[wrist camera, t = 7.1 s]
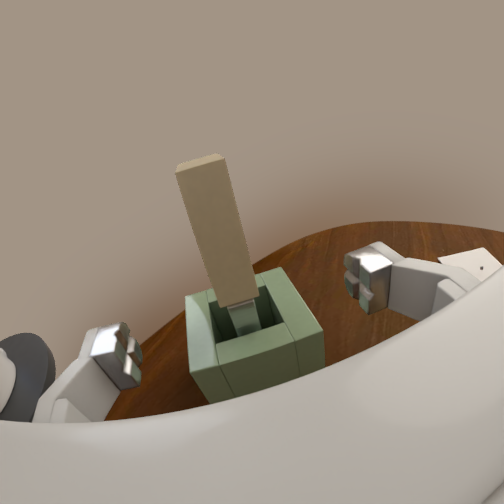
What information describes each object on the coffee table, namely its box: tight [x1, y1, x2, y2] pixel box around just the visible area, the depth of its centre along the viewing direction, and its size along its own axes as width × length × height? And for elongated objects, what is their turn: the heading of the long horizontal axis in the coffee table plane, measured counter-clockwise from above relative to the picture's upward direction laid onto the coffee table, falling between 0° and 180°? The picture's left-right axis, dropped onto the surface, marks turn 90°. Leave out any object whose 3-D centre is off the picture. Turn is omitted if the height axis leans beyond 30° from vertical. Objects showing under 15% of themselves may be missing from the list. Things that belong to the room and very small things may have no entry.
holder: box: [185, 267, 325, 404], centre depth 20 cm, size 8×8×6 cm
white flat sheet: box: [438, 248, 502, 282], centre depth 22 cm, size 8×8×1 cm
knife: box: [175, 153, 262, 337], centre depth 17 cm, size 2×4×16 cm, turn 13°
